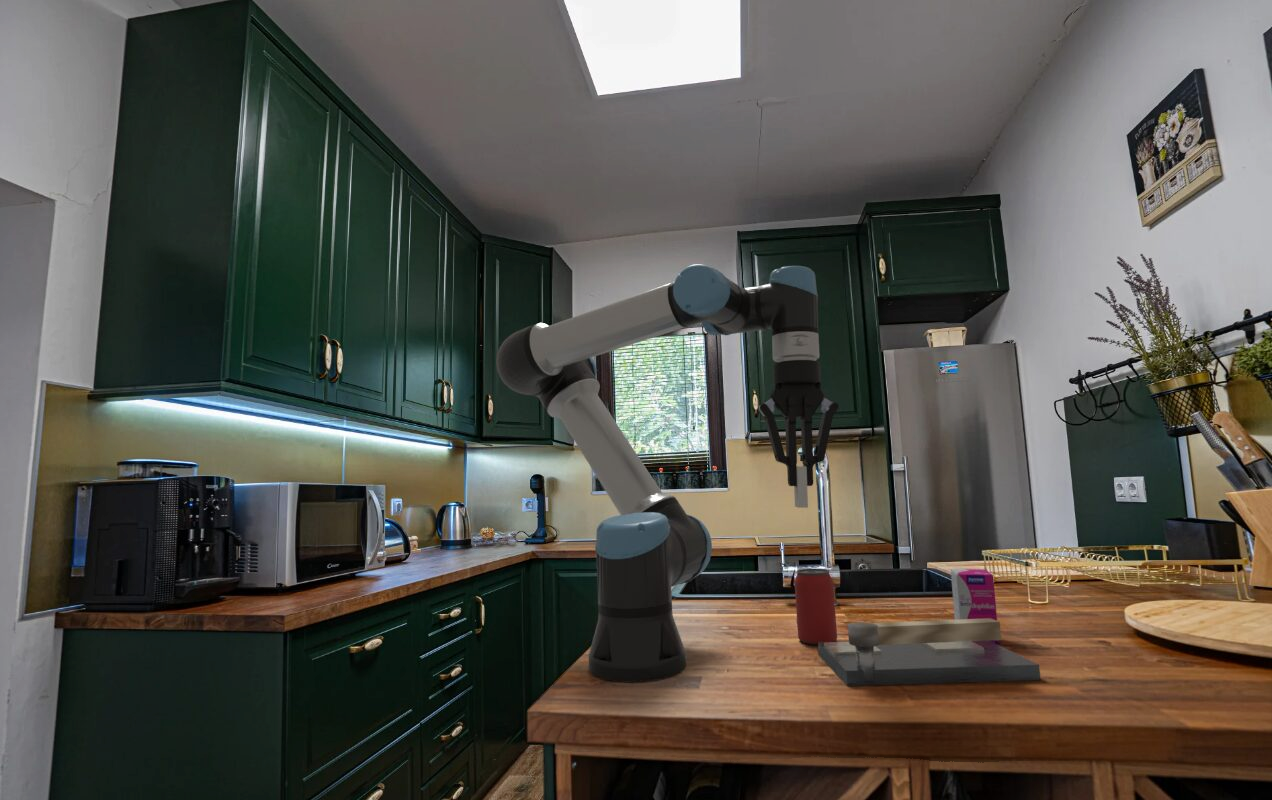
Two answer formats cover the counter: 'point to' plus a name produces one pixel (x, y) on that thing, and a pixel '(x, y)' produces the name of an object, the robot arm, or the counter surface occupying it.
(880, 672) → the board
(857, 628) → the rail
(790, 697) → the counter surface
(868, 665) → the post
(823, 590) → the beer can
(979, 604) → the supplement box
